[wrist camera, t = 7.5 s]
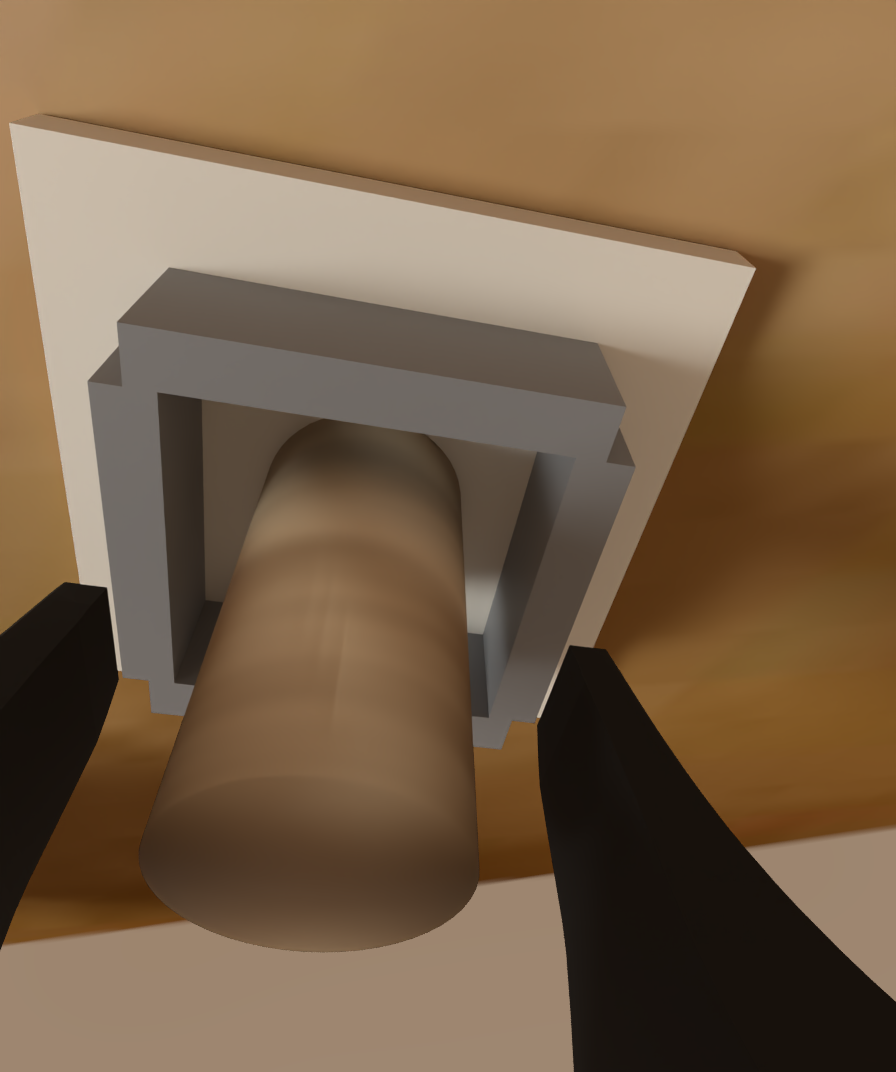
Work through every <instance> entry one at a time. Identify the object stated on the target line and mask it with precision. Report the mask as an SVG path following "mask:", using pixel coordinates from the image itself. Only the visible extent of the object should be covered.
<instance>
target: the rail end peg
mask: <svg viewBox="0 0 896 1072" xmlns="http://www.w3.org/2000/svg"><path fill="white" fill-rule="evenodd" d="M139 865H140V868H141V872H142V875H143V877H144V879H145V881H146V883H147V885H148V886H149V887H150V889H151V890H152V891H153V892H154V894H155V895H156V896H157V897H158V898H159V899H160V900H161V901H162V902H163V903H164V904H165V905H166V906H167V907H169V908H170V909H172V910H173V911H174V912H176V913H177V914H178V915H180V916H182V917H183V918H185V919H187V920H188V921H190V922H192V923H194V924H196V925H198V926H200V927H202V928H204V929H207V930H209V931H211V932H214V933H217V934H219V935H222V936H225V937H227V938H231V939H234V940H238V941H241V942H245V943H249V944H253V945H258V946H262V947H268V948H275V949H281V950H290V951H301V952H346V951H357V950H365V949H372V948H378V947H383V946H387V945H391V944H396V943H399V942H403V941H406V940H409V939H413V938H415V937H418V936H420V935H423V934H425V933H428V932H429V931H431V930H433V929H435V928H437V927H439V926H441V925H442V924H444V923H445V922H447V921H448V920H450V919H451V918H453V917H454V916H455V915H456V914H457V913H459V912H460V911H461V910H462V909H463V908H464V907H465V905H466V904H467V903H468V902H469V900H470V899H471V897H472V895H473V894H474V892H475V890H476V887H477V884H478V880H479V852H478V832H477V812H476V792H475V772H474V752H473V732H472V712H471V692H470V672H469V653H468V633H467V613H466V593H465V573H464V553H463V533H462V513H461V493H460V487H459V481H458V478H457V475H456V472H455V470H454V468H453V466H452V464H451V462H450V460H449V459H448V458H447V456H446V455H445V453H444V452H443V451H442V450H441V448H440V447H439V446H438V445H437V444H436V443H435V442H434V441H433V440H431V439H430V438H429V437H428V436H426V435H425V434H421V433H415V432H408V431H402V430H395V429H389V428H383V427H376V426H370V425H364V424H357V423H351V422H344V421H338V420H332V419H325V418H323V419H320V420H318V421H315V422H313V423H311V424H309V425H307V426H305V427H304V428H302V429H300V430H299V431H297V432H296V433H295V434H294V435H292V436H291V437H290V438H289V439H288V440H287V441H286V442H285V443H284V444H283V445H282V446H281V448H280V449H279V451H278V452H277V454H276V455H275V457H274V459H273V461H272V463H271V466H270V468H269V471H268V474H267V477H266V480H265V483H264V486H263V489H262V492H261V495H260V497H259V500H258V503H257V506H256V509H255V512H254V515H253V518H252V521H251V524H250V526H249V529H248V532H247V535H246V538H245V541H244V544H243V547H242V550H241V553H240V555H239V558H238V561H237V564H236V567H235V570H234V573H233V576H232V579H231V582H230V584H229V587H228V590H227V593H226V596H225V599H224V602H223V605H222V608H221V610H220V613H219V616H218V619H217V622H216V625H215V628H214V631H213V634H212V637H211V639H210V642H209V645H208V648H207V651H206V654H205V657H204V660H203V663H202V666H201V668H200V671H199V674H198V677H197V680H196V683H195V686H194V689H193V692H192V695H191V697H190V700H189V703H188V706H187V709H186V712H185V715H184V718H183V721H182V724H181V726H180V729H179V732H178V735H177V738H176V741H175V744H174V747H173V750H172V753H171V755H170V758H169V761H168V764H167V767H166V770H165V773H164V776H163V779H162V781H161V784H160V787H159V790H158V793H157V796H156V799H155V802H154V805H153V808H152V810H151V813H150V816H149V819H148V822H147V825H146V828H145V831H144V834H143V837H142V840H141V844H140V848H139Z"/></svg>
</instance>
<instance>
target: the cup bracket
mask: <svg viewBox="0 0 896 1072" xmlns="http://www.w3.org/2000/svg"><path fill="white" fill-rule="evenodd" d="M9 125H10V131H11V138H12V144H13V151H14V157H15V164H16V170H17V177H18V183H19V190H20V196H21V203H22V209H23V216H24V222H25V229H26V235H27V242H28V248H29V255H30V261H31V268H32V274H33V281H34V287H35V294H36V300H37V307H38V313H39V320H40V326H41V333H42V339H43V346H44V352H45V359H46V365H47V372H48V378H49V385H50V391H51V398H52V404H53V411H54V417H55V424H56V430H57V437H58V443H59V450H60V456H61V463H62V469H63V476H64V482H65V489H66V495H67V502H68V508H69V515H70V521H71V527H72V534H73V540H74V547H75V553H76V560H77V566H78V573H79V579H80V584H83V585H92V586H100V587H107V590H108V598H109V606H110V614H111V622H112V630H113V638H114V646H115V654H116V662H117V670H118V671H122V675H123V678H131V679H140V680H149V690H150V701H151V713H161V714H170V715H179V716H184V715H185V712H186V709H187V706H188V703H189V700H190V697H191V695H192V692H193V689H194V686H195V683H196V680H197V677H198V674H199V671H200V668H201V666H202V663H203V660H204V657H205V654H206V651H207V648H208V645H209V642H210V639H211V637H212V634H213V631H214V628H215V625H216V622H217V619H218V616H219V613H220V610H221V608H222V605H223V602H224V599H225V596H226V593H227V590H228V587H229V584H230V582H231V579H232V576H233V573H234V570H235V567H236V564H237V561H238V558H239V555H240V553H241V550H242V547H243V544H244V541H245V538H246V535H247V532H248V529H249V526H250V524H251V521H252V518H253V515H254V512H255V509H256V506H257V503H258V500H259V497H260V495H261V492H262V489H263V486H264V483H265V480H266V477H267V474H268V471H269V468H270V466H271V463H272V461H273V459H274V457H275V455H276V454H277V452H278V451H279V449H280V448H281V446H282V445H283V444H284V443H285V442H286V441H287V440H288V439H289V438H290V437H291V436H292V435H294V434H295V433H296V432H297V431H299V430H300V429H302V428H304V427H305V426H307V425H309V424H311V423H313V422H315V421H318V420H320V419H323V418H325V419H332V420H338V421H344V422H351V423H357V424H364V425H370V426H376V427H383V428H389V429H395V430H402V431H408V432H415V433H421V434H425V435H426V436H428V437H429V438H430V439H431V440H433V441H434V442H435V443H436V444H437V445H438V446H439V447H440V448H441V450H442V451H443V452H444V453H445V455H446V456H447V458H448V459H449V460H450V462H451V464H452V466H453V468H454V470H455V472H456V475H457V478H458V481H459V487H460V493H461V513H462V533H463V553H464V573H465V593H466V613H467V633H468V653H469V672H470V692H471V712H472V732H473V746H474V747H483V748H493V749H502V746H503V743H504V740H505V738H506V735H507V732H508V729H509V727H510V724H511V721H520V722H529V723H535V721H536V718H537V717H538V718H540V717H541V715H542V712H543V710H544V708H545V705H546V703H547V700H548V698H549V695H550V693H551V690H552V688H553V685H554V683H555V680H556V678H557V675H558V673H559V670H560V668H561V665H562V663H563V660H564V658H565V655H566V653H567V650H568V648H569V645H574V646H582V647H590V648H593V647H594V644H595V642H596V640H597V637H598V635H599V633H600V630H601V628H602V626H603V623H604V621H605V619H606V616H607V614H608V612H609V610H610V607H611V605H612V603H613V600H614V598H615V596H616V593H617V591H618V589H619V586H620V584H621V582H622V579H623V577H624V575H625V572H626V570H627V568H628V565H629V563H630V561H631V558H632V556H633V554H634V551H635V549H636V547H637V544H638V542H639V540H640V537H641V535H642V533H643V530H644V528H645V526H646V523H647V521H648V519H649V516H650V514H651V512H652V509H653V507H654V505H655V502H656V500H657V498H658V495H659V493H660V491H661V488H662V486H663V484H664V481H665V479H666V477H667V474H668V472H669V470H670V467H671V465H672V463H673V460H674V458H675V456H676V453H677V451H678V449H679V446H680V444H681V442H682V440H683V437H684V435H685V433H686V430H687V428H688V426H689V423H690V421H691V419H692V416H693V414H694V412H695V409H696V407H697V405H698V402H699V400H700V398H701V395H702V393H703V391H704V388H705V386H706V384H707V381H708V379H709V377H710V374H711V372H712V370H713V367H714V365H715V363H716V360H717V358H718V356H719V353H720V351H721V349H722V346H723V344H724V342H725V339H726V337H727V335H728V332H729V330H730V328H731V325H732V323H733V321H734V318H735V316H736V314H737V311H738V309H739V307H740V304H741V302H742V300H743V297H744V295H745V293H746V290H747V288H748V286H749V283H750V281H751V279H752V277H753V274H754V272H755V270H756V268H755V267H754V266H753V265H752V264H751V263H749V262H748V261H747V260H746V259H745V258H744V257H743V256H741V255H740V254H739V253H738V252H737V251H733V250H728V249H723V248H717V247H712V246H707V245H702V244H697V243H692V242H687V241H682V240H677V239H672V238H667V237H662V236H657V235H652V234H646V233H641V232H636V231H631V230H626V229H621V228H616V227H611V226H606V225H601V224H596V223H591V222H586V221H581V220H575V219H570V218H565V217H560V216H555V215H550V214H545V213H540V212H535V211H530V210H525V209H520V208H515V207H510V206H504V205H499V204H494V203H489V202H484V201H479V200H474V199H469V198H464V197H459V196H454V195H449V194H444V193H439V192H433V191H428V190H423V189H418V188H413V187H408V186H403V185H398V184H393V183H388V182H383V181H378V180H373V179H368V178H362V177H357V176H352V175H347V174H342V173H337V172H332V171H327V170H322V169H317V168H312V167H307V166H302V165H297V164H291V163H286V162H281V161H276V160H271V159H266V158H261V157H256V156H251V155H246V154H241V153H236V152H231V151H225V150H220V149H215V148H210V147H205V146H200V145H195V144H190V143H185V142H180V141H175V140H170V139H165V138H160V137H154V136H149V135H144V134H139V133H134V132H129V131H124V130H119V129H114V128H109V127H104V126H99V125H94V124H89V123H83V122H78V121H73V120H68V119H63V118H58V117H53V116H48V115H43V114H35V115H32V116H29V117H26V118H23V119H20V120H16V121H13V122H10V123H9Z"/></svg>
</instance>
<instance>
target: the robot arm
mask: <svg viewBox="0 0 896 1072" xmlns="http://www.w3.org/2000/svg"><path fill="white" fill-rule="evenodd" d="M118 680H119V678H118V670H117V662H116V654H115V646H114V638H113V630H112V622H111V614H110V606H109V598H108V590H107V587H100V586H92V585H83V584H75V583H67V582H65V583H63V584H62V585H60V586H59V587H57V588H56V589H55V590H54V591H53V592H51V593H50V594H49V595H48V596H46V597H45V598H44V599H43V600H42V601H40V602H39V603H38V604H37V605H36V606H34V607H33V608H32V609H31V610H30V611H28V612H27V613H26V614H25V615H24V616H23V617H21V618H20V619H19V620H18V621H17V622H15V623H14V624H13V625H12V626H11V627H9V628H8V629H7V630H6V631H4V632H3V633H2V634H1V635H0V949H1V947H2V944H3V942H4V939H5V936H6V934H7V931H8V929H9V926H10V923H11V921H12V918H13V916H14V913H15V911H16V908H17V906H18V904H19V902H20V899H21V897H22V895H23V893H24V890H25V888H26V886H27V884H28V882H29V879H30V877H31V875H32V873H33V871H34V869H35V867H36V865H37V863H38V861H39V859H40V857H41V855H42V853H43V851H44V849H45V847H46V845H47V843H48V841H49V839H50V837H51V835H52V833H53V831H54V829H55V827H56V825H57V823H58V821H59V819H60V817H61V815H62V813H63V811H64V809H65V807H66V805H67V803H68V801H69V799H70V797H71V795H72V793H73V791H74V789H75V786H76V784H77V782H78V780H79V778H80V776H81V774H82V772H83V770H84V768H85V766H86V764H87V762H88V760H89V758H90V756H91V754H92V751H93V749H94V747H95V745H96V743H97V741H98V738H99V735H100V733H101V730H102V727H103V724H104V722H105V719H106V716H107V713H108V710H109V707H110V704H111V701H112V698H113V695H114V692H115V689H116V686H117V683H118ZM537 733H538V761H539V779H540V790H541V796H542V803H543V809H544V815H545V821H546V827H547V834H548V840H549V845H550V851H551V857H552V863H553V869H554V875H555V881H556V887H557V893H558V899H559V904H560V910H561V916H562V923H563V931H564V938H565V947H566V955H567V970H568V982H569V997H570V1011H571V1026H572V1045H573V1063H574V1072H896V1002H895V1001H894V1000H893V999H892V998H891V997H890V996H889V995H888V994H887V993H885V992H884V991H883V990H882V989H881V988H880V987H879V986H878V985H877V984H876V983H874V982H873V981H872V980H871V979H870V978H869V977H868V976H867V975H866V974H865V973H864V972H863V971H862V970H861V969H860V968H858V967H857V966H856V965H855V964H854V963H853V962H852V961H851V960H850V959H849V958H848V957H847V956H846V955H845V954H844V953H843V952H842V951H841V950H840V949H839V948H838V947H837V946H836V945H835V944H834V943H833V942H832V941H831V940H830V939H829V938H828V937H827V936H826V935H825V934H824V933H823V932H822V931H821V930H820V929H819V928H818V927H817V926H816V925H815V924H814V923H813V922H812V921H811V920H810V919H809V918H808V917H807V916H806V915H805V914H804V913H803V912H802V911H801V910H800V909H799V908H798V907H797V906H796V905H795V904H794V902H793V901H792V900H791V899H790V898H789V897H788V896H787V895H786V894H785V893H784V892H783V891H782V890H781V888H780V887H779V886H778V885H777V884H776V883H775V882H774V881H773V880H772V878H771V877H770V876H769V875H768V874H767V873H766V872H765V870H764V869H763V868H762V867H761V866H760V865H759V863H758V862H757V861H756V860H755V859H754V858H753V857H752V855H751V854H750V853H749V852H748V851H747V850H746V849H745V847H744V846H743V845H742V844H741V843H740V841H739V840H738V839H737V838H736V837H735V835H734V834H733V833H732V832H731V831H730V829H729V828H728V827H727V826H726V824H725V823H724V822H723V820H722V819H721V818H720V817H719V815H718V814H717V813H716V811H715V810H714V809H713V807H712V806H711V805H710V803H709V802H708V801H707V800H706V798H705V797H704V796H703V794H702V793H701V792H700V790H699V789H698V787H697V786H696V785H695V783H694V782H693V781H692V779H691V778H690V776H689V775H688V774H687V772H686V771H685V769H684V768H683V766H682V765H681V764H680V762H679V761H678V759H677V758H676V756H675V755H674V753H673V752H672V751H671V749H670V748H669V746H668V745H667V743H666V742H665V740H664V739H663V737H662V736H661V734H660V733H659V731H658V730H657V728H656V727H655V725H654V724H653V722H652V721H651V719H650V718H649V716H648V715H647V713H646V712H645V710H644V708H643V707H642V705H641V704H640V702H639V701H638V699H637V698H636V696H635V694H634V693H633V691H632V690H631V688H630V686H629V685H628V683H627V682H626V680H625V679H624V677H623V675H622V674H621V672H620V671H619V669H618V667H617V666H616V664H615V663H614V661H613V660H612V658H611V657H610V655H609V654H608V652H607V651H606V649H598V648H590V647H582V646H574V645H569V648H568V650H567V653H566V655H565V658H564V660H563V663H562V665H561V668H560V670H559V673H558V675H557V678H556V680H555V683H554V685H553V688H552V690H551V693H550V695H549V698H548V700H547V703H546V705H545V708H544V710H543V712H542V715H541V717H540V720H539V722H538V725H537Z"/></svg>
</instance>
